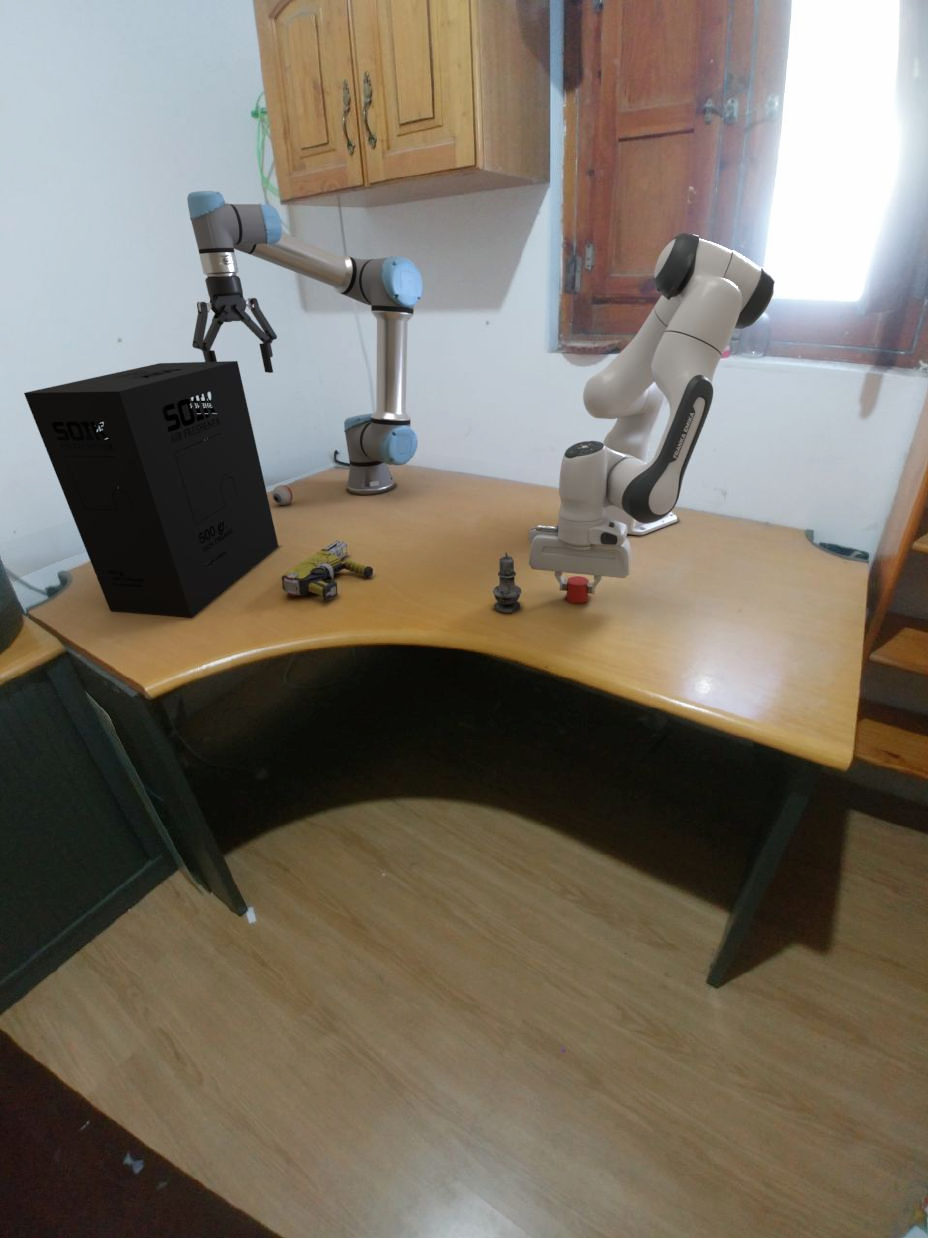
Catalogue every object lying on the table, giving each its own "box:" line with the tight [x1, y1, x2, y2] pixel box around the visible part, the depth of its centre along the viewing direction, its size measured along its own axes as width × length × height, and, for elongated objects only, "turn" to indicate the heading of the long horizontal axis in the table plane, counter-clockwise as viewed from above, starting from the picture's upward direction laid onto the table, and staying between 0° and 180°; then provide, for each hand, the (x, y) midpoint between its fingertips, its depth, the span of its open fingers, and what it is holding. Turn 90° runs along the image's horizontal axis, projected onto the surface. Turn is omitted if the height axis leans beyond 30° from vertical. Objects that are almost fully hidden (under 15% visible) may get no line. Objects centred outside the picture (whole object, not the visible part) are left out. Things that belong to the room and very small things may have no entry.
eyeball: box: [271, 484, 294, 506], centre depth 185 cm, size 6×6×6 cm
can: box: [566, 575, 590, 604], centre depth 124 cm, size 4×4×4 cm
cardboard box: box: [23, 360, 279, 618], centre depth 133 cm, size 38×20×45 cm, turn 167°
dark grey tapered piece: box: [492, 552, 523, 613], centre depth 120 cm, size 6×6×12 cm
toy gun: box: [281, 539, 374, 603], centre depth 138 cm, size 5×24×15 cm
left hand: (244, 376), depth 146 cm, fingers open, 13 cm apart
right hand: (577, 591), depth 124 cm, fingers closed on can, 4 cm apart
